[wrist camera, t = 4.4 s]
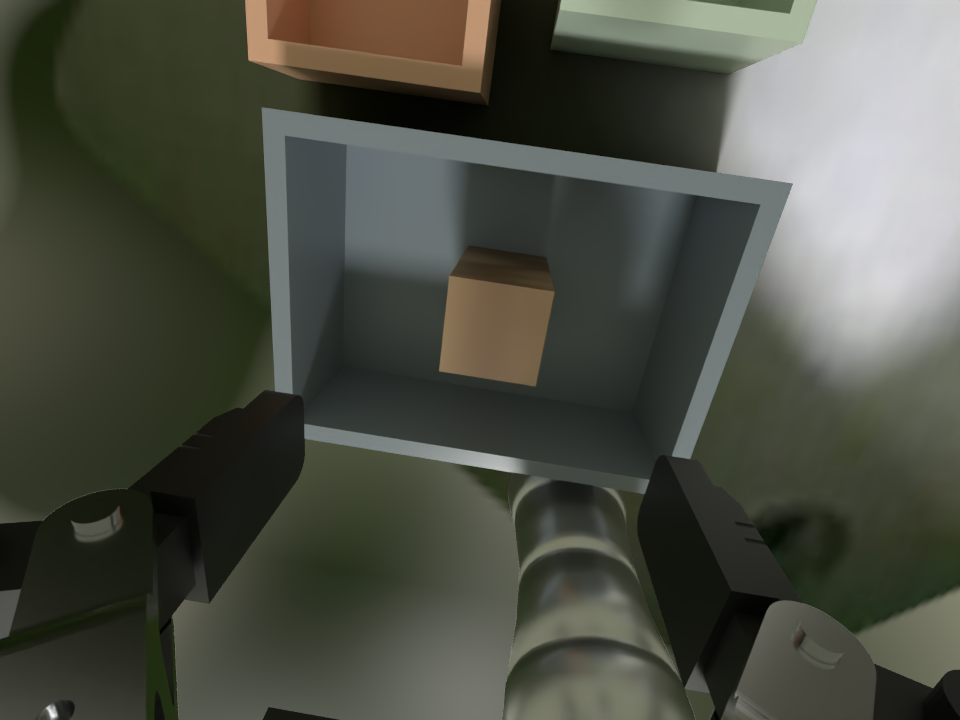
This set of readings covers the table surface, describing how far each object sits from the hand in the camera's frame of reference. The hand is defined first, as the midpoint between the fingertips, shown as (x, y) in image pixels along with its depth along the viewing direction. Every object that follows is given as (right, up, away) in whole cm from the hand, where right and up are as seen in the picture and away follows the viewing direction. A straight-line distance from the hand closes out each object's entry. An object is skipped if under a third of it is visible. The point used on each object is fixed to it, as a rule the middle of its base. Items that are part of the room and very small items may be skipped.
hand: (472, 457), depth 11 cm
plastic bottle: (+5, -5, +19) cm, 20 cm away
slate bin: (+1, +6, +15) cm, 16 cm away
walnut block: (+1, +6, +14) cm, 15 cm away
